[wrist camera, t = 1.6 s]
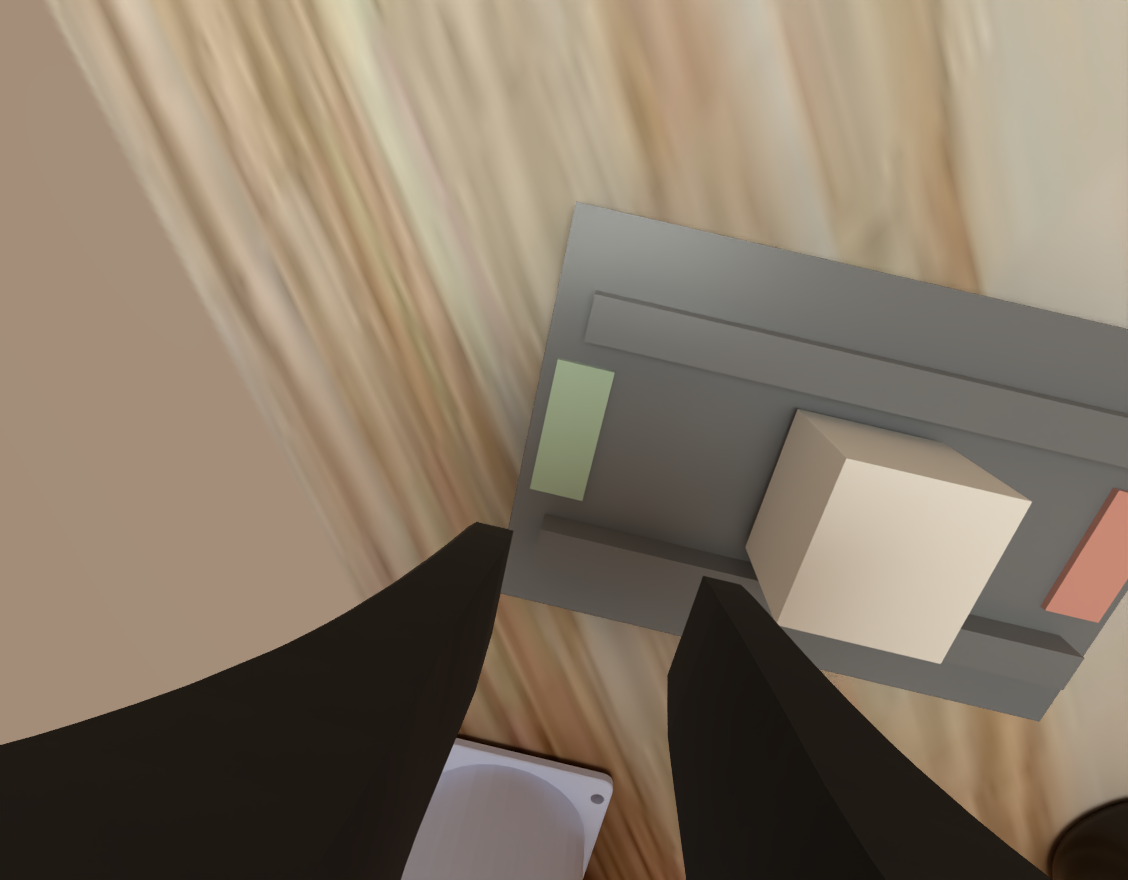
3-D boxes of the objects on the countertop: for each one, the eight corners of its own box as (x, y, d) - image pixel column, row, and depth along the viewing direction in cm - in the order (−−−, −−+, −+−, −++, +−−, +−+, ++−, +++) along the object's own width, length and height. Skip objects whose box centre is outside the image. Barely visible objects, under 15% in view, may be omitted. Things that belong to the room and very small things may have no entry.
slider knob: (877, 578, 17) (940, 664, 14) (745, 547, 17) (776, 625, 14) (943, 442, 16) (1032, 501, 12) (797, 408, 16) (846, 457, 12)
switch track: (1010, 687, 20) (1061, 747, 18) (503, 566, 20) (488, 610, 18) (1220, 352, 16) (1325, 373, 14) (579, 203, 16) (572, 199, 14)
